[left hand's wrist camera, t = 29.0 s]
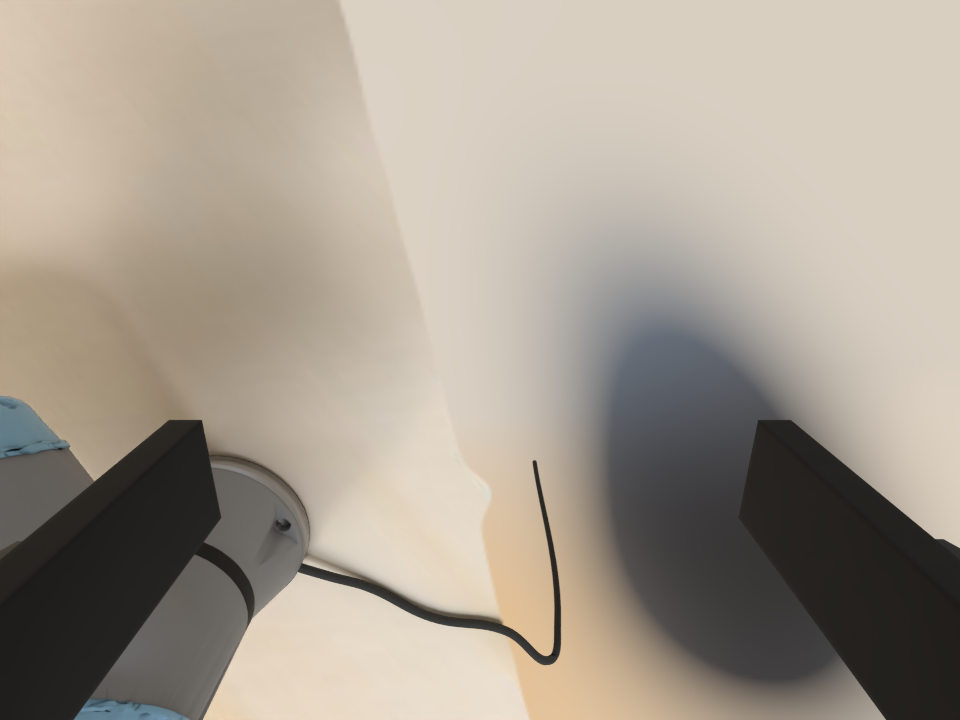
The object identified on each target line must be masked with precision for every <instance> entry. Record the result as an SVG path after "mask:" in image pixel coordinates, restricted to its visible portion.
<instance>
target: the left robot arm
mask: <svg viewBox="0 0 960 720" xmlns="http://www.w3.org/2000/svg"><path fill="white" fill-rule="evenodd" d="M69 447H70V445H69V444H68V442H66V441H65V440H61V439H60V438H59V437H58V436H57V435H56V434H55V433H54V432H53V431H52V430H51V429H50V428H49V427H48V426H47V425H46V424H45V423H44V422H43V420H42V419H41V418H40V417H39V416H38V415H37V414H36V413H35V411H34V410H33V409H32V408H31V407H30V406H29V405H27V404H26V403H24V402H23V401H21V400H18V399H16V398H12V397H8V396H0V720H203V718H204V716H205V714H206V712H207V710H208V708H209V706H210V704H211V701H212V699H213V697H214V695H215V693H216V691H217V689H218V687H219V685H220V683H221V681H222V679H223V677H224V675H225V673H226V671H227V668H228V666H229V664H230V662H231V660H232V658H233V656H234V654H235V652H236V650H237V648H238V646H239V644H240V642H241V640H242V638H243V635H244V633H245V631H246V629H247V627H248V625H249V623H250V622H251V620H252V618H253V617H254V616H255V615H256V614H257V613H258V612H259V611H260V610H261V609H263V608H264V607H265V606H266V605H267V604H268V603H269V602H270V601H271V600H272V599H273V598H274V597H275V596H276V595H277V594H278V593H279V592H280V591H281V590H282V589H283V588H285V587H286V586H287V585H288V584H289V583H290V582H291V581H292V579H293V578H294V577H295V575H296V574H297V572H299V573H303V574H306V575H310V576H313V577H317V578H320V579H324V580H327V581H331V582H335V583H339V584H343V585H347V586H351V587H355V588H359V589H362V590H365V591H367V592H370V593H372V594H375V595H377V596H379V597H381V598H383V599H385V600H387V601H389V602H391V603H392V604H394V605H396V606H398V607H400V608H401V609H403V610H405V611H407V612H409V613H411V614H413V615H415V616H417V617H420V618H422V619H425V620H428V621H431V622H434V623H438V624H442V625H447V626H454V627H464V628H475V629H483V630H489V631H494V632H497V633H500V634H503V635H506V636H508V637H510V638H511V639H513V640H514V641H516V642H517V643H518V644H519V645H520V646H521V647H522V648H523V649H524V650H525V651H526V652H527V653H528V654H529V655H530V656H531V657H532V658H533V659H534V660H535V661H537V662H538V663H540V664H542V665H550V664H553V663H554V662H555V661H556V660H557V659H558V657H559V655H560V650H561V598H560V586H559V576H558V569H557V562H556V556H555V551H554V545H553V540H552V535H551V530H550V525H549V521H548V516H547V511H546V507H545V502H544V497H543V493H542V488H541V483H540V478H539V472H538V467H537V461H536V460H533V462H532V463H533V469H534V476H535V481H536V487H537V492H538V497H539V502H540V507H541V512H542V517H543V522H544V527H545V532H546V537H547V543H548V548H549V555H550V561H551V569H552V578H553V589H554V645H553V650H552V653H551V654H550V655H549V656H543V655H541V654H540V653H538V652H537V651H536V650H535V649H534V648H533V647H532V646H531V645H530V644H529V643H528V642H527V641H526V640H525V639H524V638H523V637H522V636H521V635H520V634H519V633H517V632H516V631H514V630H513V629H511V628H509V627H507V626H504V625H501V624H498V623H494V622H489V621H483V620H475V619H463V618H454V617H447V616H442V615H438V614H435V613H432V612H429V611H426V610H424V609H421V608H419V607H417V606H415V605H413V604H411V603H409V602H407V601H405V600H403V599H402V598H400V597H398V596H396V595H395V594H393V593H391V592H389V591H387V590H385V589H383V588H381V587H379V586H377V585H374V584H372V583H369V582H366V581H363V580H360V579H357V578H353V577H349V576H345V575H341V574H337V573H333V572H330V571H326V570H323V569H319V568H316V567H312V566H309V565H306V564H302V561H303V559H304V557H305V554H306V552H307V549H308V545H309V539H310V530H309V523H308V518H307V516H306V513H305V510H304V508H303V506H302V504H301V502H300V501H299V499H298V498H297V496H296V495H295V494H294V492H293V491H292V490H291V489H290V488H289V487H288V486H287V485H286V484H285V483H284V482H283V481H282V480H281V479H279V478H278V477H277V476H275V475H274V474H272V473H271V472H269V471H268V470H266V469H264V468H262V467H260V466H258V465H256V464H253V463H250V462H248V461H245V460H241V459H237V458H232V457H225V456H209V454H208V449H207V444H206V439H205V434H204V429H203V424H202V420H169V421H168V422H166V423H165V424H164V425H163V426H162V427H160V428H159V429H158V430H157V431H155V432H154V433H153V434H152V435H151V436H149V437H148V438H147V439H146V440H145V441H143V442H142V443H141V444H140V445H139V446H137V447H136V448H135V449H134V450H132V451H131V452H130V453H129V454H128V455H126V456H125V457H124V458H123V459H122V460H120V461H119V462H118V463H117V464H115V465H114V466H113V467H112V468H111V469H109V470H108V471H107V472H106V473H105V474H103V475H102V476H101V477H100V478H98V479H97V480H96V481H95V482H94V481H93V479H92V478H91V477H90V475H89V474H88V473H87V472H86V470H85V469H84V468H83V466H82V465H81V464H80V463H79V461H78V460H77V459H76V457H75V456H74V455H73V454H72V452H71V451H70V450H69ZM739 519H740V520H741V522H742V523H743V525H744V526H745V527H746V529H747V530H748V531H749V533H750V534H751V535H752V537H753V538H754V540H755V541H756V542H757V544H758V545H759V546H760V548H761V549H762V551H763V552H764V553H765V555H766V556H767V557H768V559H769V560H770V561H771V563H772V564H773V566H774V567H775V568H776V570H777V571H778V572H779V574H780V575H781V577H782V578H783V579H784V581H785V582H786V583H787V585H788V586H789V587H790V589H791V590H792V592H793V593H794V594H795V596H796V597H797V598H798V600H799V601H800V602H801V604H802V605H803V607H804V608H805V609H806V611H807V612H808V613H809V615H810V616H811V618H812V619H813V620H814V622H815V623H816V624H817V626H818V627H819V629H820V630H821V631H822V633H823V634H824V635H825V637H826V638H827V639H828V641H829V642H830V644H831V645H832V646H833V648H834V649H835V650H836V652H837V653H838V655H839V656H840V657H841V659H842V660H843V661H844V663H845V664H846V665H847V667H848V668H849V670H850V671H851V672H852V674H853V675H854V676H855V678H856V679H857V681H858V682H859V683H860V685H861V686H862V687H863V689H864V690H865V691H866V693H867V694H868V696H869V697H870V698H871V700H872V701H873V702H874V704H875V705H876V706H877V708H878V709H879V711H880V712H881V713H882V715H883V716H884V717H885V719H886V720H960V548H958V547H957V546H955V545H953V544H951V543H949V542H947V541H946V540H944V539H934V538H933V537H932V536H931V535H929V534H928V533H927V532H926V531H925V530H923V529H922V528H921V527H920V526H919V525H917V524H916V523H915V522H914V521H912V520H911V519H910V518H909V517H908V516H906V515H905V514H904V513H903V512H901V511H900V510H899V509H898V508H897V507H896V506H894V505H893V504H892V503H891V502H889V501H888V500H887V499H886V498H885V497H883V496H882V495H881V494H880V493H879V492H877V491H876V490H875V489H874V488H872V487H871V486H870V485H869V484H868V483H866V482H865V481H864V480H863V479H862V478H860V477H859V476H858V475H857V474H855V473H854V472H853V471H852V470H851V469H849V468H848V467H847V466H846V465H845V464H843V463H842V462H841V461H840V460H838V459H837V458H836V457H835V456H834V455H832V454H831V453H830V452H829V451H827V450H826V449H825V448H824V447H823V446H821V445H820V444H819V443H818V442H817V441H815V440H814V439H813V438H812V437H811V436H809V435H808V434H807V433H806V432H805V431H803V430H802V429H801V428H800V427H798V426H797V425H796V424H795V423H794V422H792V421H791V420H758V424H757V429H756V434H755V439H754V444H753V449H752V454H751V458H750V463H749V468H748V474H747V478H746V483H745V488H744V493H743V498H742V503H741V508H740V513H739Z"/></svg>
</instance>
